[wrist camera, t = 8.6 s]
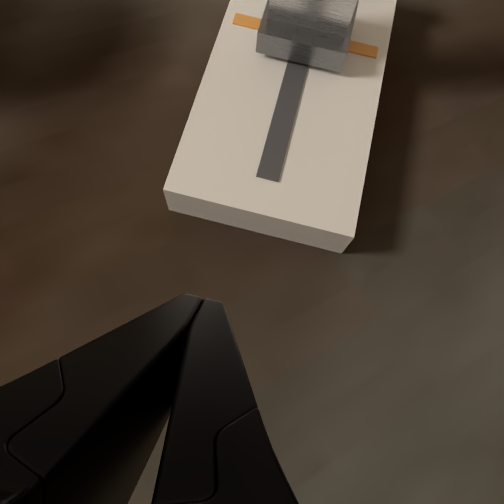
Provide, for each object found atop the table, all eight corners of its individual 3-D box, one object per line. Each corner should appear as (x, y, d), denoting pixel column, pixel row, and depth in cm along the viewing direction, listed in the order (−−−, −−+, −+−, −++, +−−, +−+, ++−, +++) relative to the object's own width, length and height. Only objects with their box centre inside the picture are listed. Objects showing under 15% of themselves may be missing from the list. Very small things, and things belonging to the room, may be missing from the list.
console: (341, 253, 24) (363, 226, 20) (169, 210, 24) (158, 175, 20) (385, 17, 30) (408, -38, 26) (246, -16, 30) (249, -76, 26)
